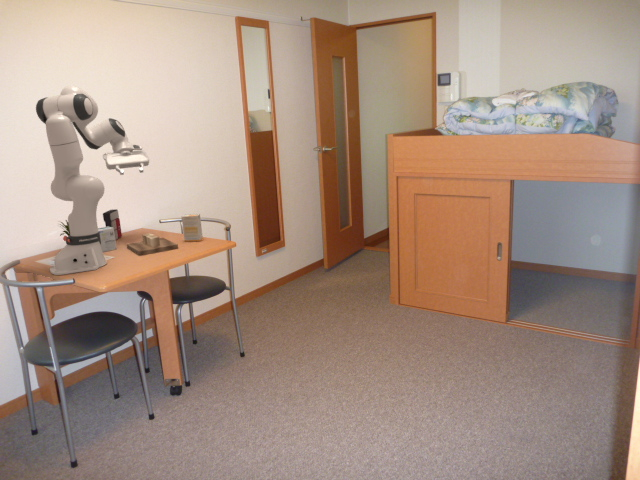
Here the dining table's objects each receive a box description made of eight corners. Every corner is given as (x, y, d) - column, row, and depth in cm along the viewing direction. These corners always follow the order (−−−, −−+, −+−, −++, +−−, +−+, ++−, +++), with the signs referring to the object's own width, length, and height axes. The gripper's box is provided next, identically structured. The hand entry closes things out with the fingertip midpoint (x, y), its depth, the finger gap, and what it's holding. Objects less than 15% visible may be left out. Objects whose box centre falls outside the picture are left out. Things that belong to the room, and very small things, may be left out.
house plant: (49, 254, 257) (43, 221, 253) (68, 247, 270) (63, 215, 266) (75, 255, 254) (70, 220, 250) (93, 247, 267) (88, 215, 263)
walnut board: (140, 255, 246) (139, 251, 246) (127, 248, 262) (126, 244, 262) (178, 248, 256) (177, 244, 256) (163, 241, 272) (162, 237, 272)
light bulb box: (111, 247, 266) (108, 225, 263) (117, 249, 261) (114, 227, 258) (89, 252, 259) (86, 229, 256) (95, 254, 254) (92, 231, 251)
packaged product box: (115, 241, 277) (110, 213, 274) (106, 242, 277) (102, 213, 274) (122, 236, 288) (119, 209, 284) (114, 237, 288) (110, 209, 285)
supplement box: (203, 239, 273) (200, 213, 270) (200, 241, 268) (197, 215, 265) (187, 239, 274) (184, 214, 271) (184, 241, 269) (181, 216, 266)
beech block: (143, 242, 263) (151, 247, 253) (142, 234, 262) (150, 238, 252) (151, 241, 265) (160, 245, 255) (150, 233, 264) (159, 237, 254)
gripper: (102, 149, 258) (110, 170, 253) (144, 145, 270) (153, 166, 264) (101, 158, 263) (109, 179, 258) (142, 154, 274) (151, 174, 269)
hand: (132, 172), depth 261 cm, fingers open, 8 cm apart
